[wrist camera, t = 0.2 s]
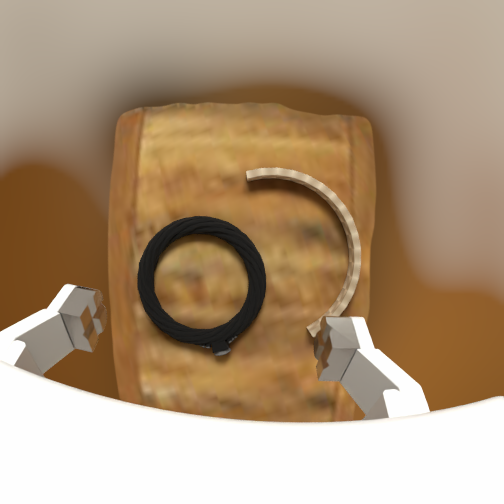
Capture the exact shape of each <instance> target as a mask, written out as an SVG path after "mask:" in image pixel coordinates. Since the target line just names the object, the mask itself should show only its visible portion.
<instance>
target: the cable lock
mask: <svg viewBox="0 0 504 504" xmlns="http://www.w3.org/2000/svg"><path fill="white" fill-rule="evenodd" d="M190 234H209V235H213V236H216V237H218V238H220V239H223V240H225V241H226V242H227V243H229V244H230V245H232V246H233V247H234V248H235V249H236V251H237V252H238V253H239V254H240V256H241V257H242V258H243V260H244V263H245V266H246V269H247V272H248V277H249V288H248V294H247V298H246V300H245V303H244V305H243V307H242V309H241V310H240V312H239V313H238V314H236V315H235V316H234V317H233V318H232V319H231V320H230V321H229V322H228V323H225V324H223V325H220V326H218V327H216V328H213V329H193V328H189V327H187V326H185V325H182V324H180V323H177V322H176V321H174V320H173V319H172V318H171V317H170V316H169V315H168V314H167V313H166V312H165V311H164V310H163V309H162V307H161V305H160V303H159V301H158V299H157V296H156V294H155V292H154V270H155V267H156V264H157V261H158V259H159V256H160V254H161V253H162V252H163V251H164V250H165V249H166V248H167V247H168V246H169V245H170V244H171V243H172V242H174V241H175V240H177V239H179V238H181V237H183V236H186V235H190ZM265 290H266V274H265V268H264V263H263V261H262V258H261V256H260V254H259V252H258V251H257V249H256V247H255V245H254V244H253V242H252V241H251V240H250V239H249V238H248V236H247V235H246V234H244V233H243V232H241V231H240V230H239V229H238V228H237V227H235V226H234V225H232V224H230V223H229V222H226V221H223V220H220V219H217V218H212V217H207V216H194V217H189V218H183V219H180V220H177V221H174V222H172V223H171V224H169V225H167V226H166V227H164V228H163V229H162V230H160V231H159V232H158V233H157V234H156V235H155V236H154V237H153V238H152V239H151V240H150V242H149V243H148V245H147V247H146V249H145V250H144V253H143V255H142V257H141V260H140V262H139V271H138V291H139V294H140V297H141V301H142V303H143V306H144V309H145V311H146V313H147V314H148V315H149V317H150V318H151V319H152V321H153V322H154V323H155V324H156V325H157V326H158V327H159V328H160V330H162V331H163V332H165V333H167V334H168V335H169V336H171V337H172V338H174V339H176V340H178V341H180V342H184V343H190V344H195V345H200V347H204V348H205V346H206V348H211V344H212V350H213V353H214V355H217V356H221V355H225V354H227V353H228V352H229V351H230V350H231V349H230V348H229V343H231V342H232V341H233V340H234V339H235V338H236V337H238V336H237V335H238V334H240V333H242V332H243V331H244V330H245V329H246V328H248V327H249V326H250V324H251V323H252V321H253V320H254V319H255V318H256V316H257V314H258V312H259V310H260V309H261V306H262V303H263V299H264V297H265ZM228 342H229V343H228Z"/></svg>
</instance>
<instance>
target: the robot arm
mask: <svg viewBox="0 0 504 504" xmlns="http://www.w3.org/2000/svg"><path fill="white" fill-rule="evenodd" d="M102 300H103V296H102V292H101V291H99V290H95V289H91V288H86V287H81V286H75V285H70V284H67V285H64V287H63V288H62V289H61V291H60V292H59V293H58V295H57V296H56V297H55V299H54V300H53V301H52V303H51V304H50V306H49V307H48V308H47V310H45V309H43V310H41V311H39V312H37V313H35V314H33V315H31V316H29V317H28V318H26V319H24V320H22V321H20V322H18V323H16V324H15V325H12V326H11V327H9V328H7V329H5V330H3V331H1V332H0V504H504V397H503V396H497V397H493V398H489V399H486V400H483V401H479V402H475V403H471V404H467V405H462V406H458V407H453V408H448V409H443V410H438V411H433V412H430V411H429V408H428V405H427V402H426V399H425V396H424V394H423V391H422V388H421V386H420V385H419V384H418V383H417V382H416V381H414V380H413V379H412V378H411V377H410V376H409V375H407V374H406V373H405V372H404V371H403V370H402V369H401V368H399V367H398V366H397V365H396V364H395V363H393V362H392V361H391V360H390V359H389V358H388V357H387V356H386V355H384V354H383V353H382V352H381V351H380V350H379V349H374V346H373V343H372V340H371V337H370V334H369V331H368V329H367V326H366V323H365V320H364V318H363V317H339V316H323V317H322V319H321V322H320V328H321V330H319V331H318V332H317V333H316V337H315V341H314V356H315V358H316V359H317V360H318V363H317V365H316V369H317V376H318V381H340V383H341V384H342V385H343V387H344V388H345V389H346V390H347V392H348V393H349V394H350V395H351V397H352V398H353V399H354V400H355V402H356V403H357V404H358V405H359V407H360V408H361V409H362V410H363V411H364V413H365V414H366V416H365V417H364V418H363V420H361V421H344V422H311V423H298V422H264V421H248V420H236V419H225V418H216V417H207V416H199V415H192V414H185V413H179V412H173V411H167V410H162V409H156V408H151V407H146V406H142V405H137V404H132V403H128V402H124V401H120V400H116V399H112V398H108V397H104V396H100V395H97V394H93V393H90V392H86V391H83V390H80V389H76V388H73V387H70V386H67V385H64V384H61V383H58V382H55V381H52V380H49V379H47V378H45V377H44V376H43V373H44V372H46V371H47V370H48V369H49V368H51V367H52V366H53V365H54V364H55V363H57V362H58V361H60V360H61V359H62V358H63V357H65V356H66V355H67V354H68V353H70V352H71V351H72V350H74V348H76V349H81V350H85V351H90V352H93V350H94V348H95V346H96V344H97V342H98V340H99V339H98V334H99V333H101V332H103V330H104V328H105V325H106V321H107V312H106V308H105V307H104V305H103V304H102V303H101V302H102Z"/></svg>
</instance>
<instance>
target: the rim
mask: <svg viewBox="0 0 504 504" xmlns="http://www.w3.org/2000/svg"><path fill="white" fill-rule="evenodd" d="M246 177H247V182H248V181H252V180H257V179H265V178H278V179H284V180H290V181H293V182H296V183H299V184H302V185H304V186H306V187H308V188H309V189H311V190H313V191H315V192H316V193H317V194H318V195H320V196H321V197H322V198H323V199H325V200H326V201H327V203H328V204H329V205H330V206H331V207H332V208H333V210H334V211H335V212H336V214H337V216H338V217H339V219H340V221H341V223H342V225H343V228H344V230H345V233H346V236H347V242H348V247H349V266H348V272H347V277H346V280H345V283H344V286H343V289H342V290H341V292H340V294H339V296H338V298H337V300H336V301H335V302H334V304H333V305H332V306H331V308H330V309H329V310H328V311H327V312H326V313H325V314H324V315H323V316H340V315H341V313H342V312H343V311H344V309H345V308H346V307H347V305H348V303H349V301H350V299H351V298H352V296H353V294H354V291H355V288H356V285H357V282H358V279H359V273H360V267H361V247H360V241H359V236H358V232H357V229H356V227H355V224H354V221H353V219H352V217H351V215H350V213H349V212H348V210H347V208H346V207H345V205H344V204H343V203H342V201H341V200H340V199H339V198H338V197H337V196H336V194H335V193H334V192H332V191H331V190H330V189H329V188H328V187H326V186H325V185H324V184H323V183H321V182H319V181H318V180H316V179H314V178H312V177H310V176H309V175H306V174H303V173H300V172H297V171H294V170H289V169H282V168H260V169H255V170H250V171H246ZM323 316H322V317H323ZM322 317H321V318H320V319H318V320H317V321H315V322H314V323H312V324H311V325H309V326H308V327H307V329H308V330H309V332H310V333H311V335H312V336H313V337H315V336H316V333H317V332H318V331H319V330H321V328H320V322H321V319H322Z"/></svg>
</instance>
